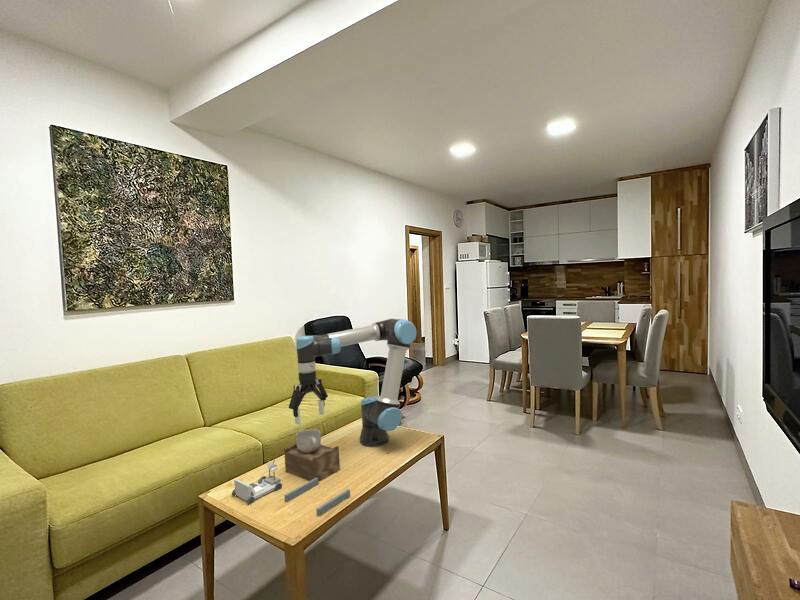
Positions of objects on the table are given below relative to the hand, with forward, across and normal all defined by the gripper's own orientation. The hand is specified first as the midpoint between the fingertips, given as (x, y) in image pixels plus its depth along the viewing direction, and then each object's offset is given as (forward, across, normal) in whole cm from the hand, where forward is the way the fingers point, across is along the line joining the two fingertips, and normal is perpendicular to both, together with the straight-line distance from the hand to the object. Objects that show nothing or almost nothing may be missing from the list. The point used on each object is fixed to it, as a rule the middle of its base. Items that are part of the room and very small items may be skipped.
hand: (310, 418), depth 177 cm
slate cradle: (+23, -15, -20) cm, 34 cm away
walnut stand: (+23, 0, 0) cm, 23 cm away
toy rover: (+24, -24, +5) cm, 34 cm away
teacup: (+14, -1, 0) cm, 15 cm away
